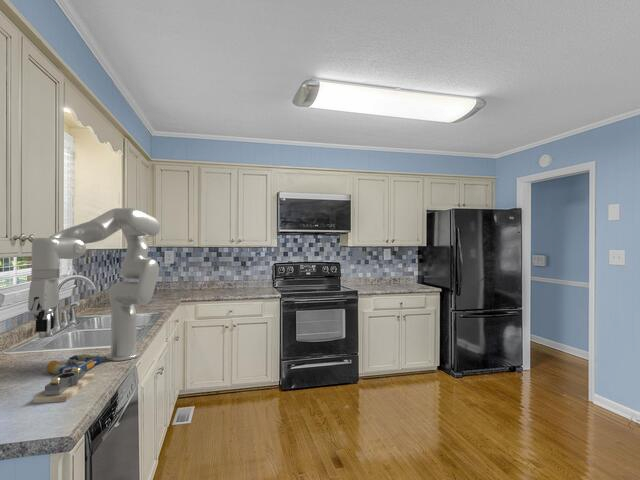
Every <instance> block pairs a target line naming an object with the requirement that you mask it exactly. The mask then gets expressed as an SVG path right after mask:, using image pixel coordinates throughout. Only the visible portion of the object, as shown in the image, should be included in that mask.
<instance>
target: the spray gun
mask: <svg viewBox="0 0 640 480" xmlns="http://www.w3.org/2000/svg"><path fill="white" fill-rule="evenodd" d="M103 359H104V357H103V356H100V355H99V354H96V355H91V354H85V353H84V354H77V355H73V356H70V357H68V359H67V361H66V363H67V364H68V365H66V364H65V363H63V362H61V361H57V360H51V361H49V363H48V364H47V365H46V371H47V372H49V373H51V374H54V375H55V376H57V375H59V374H63V373H68V372H72V369H73V368H77V367H80V371H85V373H86V372H87V371H89V370H91V369H93V368H95V367H96V366H99V365H100V364H101V363H103Z"/></svg>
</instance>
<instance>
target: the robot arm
mask: <svg viewBox="0 0 640 480" xmlns="http://www.w3.org/2000/svg"><path fill="white" fill-rule="evenodd" d="M120 230H121V232H122V234H123V236H124V237H125V239H126V244H127V248H126V251H125V255H124V257H123V261H122V265H121V267H120V276H121V277H122V278H123V279H126V280H133V281H118V282H115V283H113V284H112V285H111V286H110V288H109V290H108V299H109V303H110V312H111V316H110V317H111V318H110V321H111V323H110V325H111V326H110V330H111V331H110V352H109V353H107V354H106V355H105V358H106V360H108V361H114V362H115V361H118V362H120V361H127V360H132V359H135V358H137V357H140V356H141V351H140V350H137V320H138V319H137V317H138V315H137V309H136V308H135V306H145V305H147V304H148V303H150V302H151V300H152V299H153V295H154V291H155V288H156V285H157V282H158V279H159V274H160V266H159V263H158V261H157V260H155V259H153V258H150V257H148V253H149V246H148V243H147V242H146V240H145V238H152V237H156V236H157V235H158V234H159V233H160V231H161V223H160V221H159V220H158V219H157V218H156V217H154V216H152V215H150V214H148V213H146V212H144V211H141V210H140V209H137V208H134V207H121V208H120V207H118V208H117V207H116V208H111V209H110V210H107V211H106V212H103V213H102V214H100V215H98V216H97V217H95V218H93V219H91V220H89V221H86V222H84V223H83V222H82V223H80V224H77V225H74V226H71V227H68V228H65V229H62V230H60V231H58V232H56V233H54V234H52V235H50V236H49V237H36V238H33V239H32V240H31V271H30V272H31V275H30V276H31V277H30V278H31V281H30V285H29V290H28V291H29V292H28V300H27V302H28V303H27V308H28V309H27V310H28V311H30V313H31V315H32V316H34V320H35V332H36V333H39V332H46V331H47V322H48V319H46V314H47V310H48V309H51V308H52V309H53V312H51V330H53V329H54V328H55V315H56V314H55V311H56V309H57V308H58V306H59V303H60V286H59V283H60V282H59V280H60V261H61V259H62V260H75V259H78V258H81V257H83V256H84V254H85V253H86V251H87V247H86V244H92V243H94V244H95V243H97V242H101V241H103V240H105V239H107V238H109V237H110V236H112V235H113V234H116V233H117V232H118V231H120ZM144 237H145V238H144ZM39 309H42V310H39ZM41 312H43V314H42V313H41Z"/></svg>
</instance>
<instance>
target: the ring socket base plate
mask: <svg viewBox="0 0 640 480" xmlns="http://www.w3.org/2000/svg"><path fill="white" fill-rule="evenodd" d="M94 378H95V373H86V372H85V371H80V367H77V368H73V369H72V372H68V373H63V374H57V375H55V376H53V378H52V377H51V379H50V382H49V383H48V384H46V385H44V389H43V391H41V392H40V393H38V394H37V395H35V396H34V397H33V404H40V403H42V404H43V403H53V402H55V403H57V402H67V401H69V400H70V399H71V398H72V397H73V396H74V395H76V394H77V393H78V392H79V391H80V390H81V389H83V388H84V387H85V386H86V385H88V383H89V382H91V381H92V380H93V379H94Z"/></svg>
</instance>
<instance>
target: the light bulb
mask: <svg viewBox="0 0 640 480" xmlns="http://www.w3.org/2000/svg"><path fill="white" fill-rule="evenodd" d="M39 310H42V309H41V308H39ZM51 312H53V309H52V308H51V309H48V310H47V314H46V319H48V322H47V331H46V332H38V338H40V339H43V338H49V337H51V336H52V335H51V331H52V329H51ZM41 313H42V314H43V312H41Z"/></svg>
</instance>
